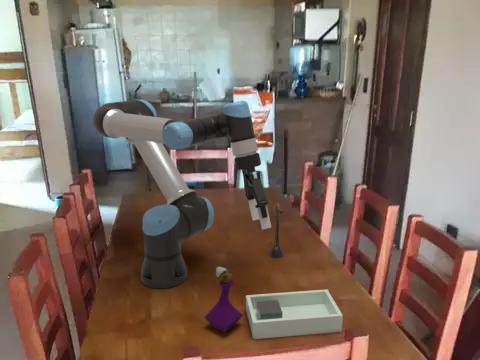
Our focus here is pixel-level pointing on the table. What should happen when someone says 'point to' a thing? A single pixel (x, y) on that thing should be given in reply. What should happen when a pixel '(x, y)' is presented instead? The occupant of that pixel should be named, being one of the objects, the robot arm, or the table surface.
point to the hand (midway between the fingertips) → (261, 223)
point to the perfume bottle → (224, 305)
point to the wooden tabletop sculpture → (277, 234)
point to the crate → (295, 314)
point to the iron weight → (268, 310)
